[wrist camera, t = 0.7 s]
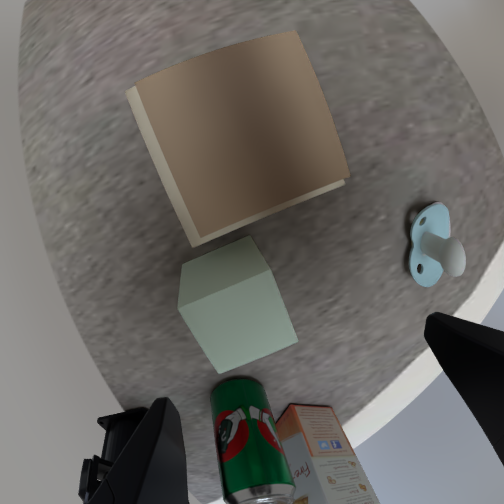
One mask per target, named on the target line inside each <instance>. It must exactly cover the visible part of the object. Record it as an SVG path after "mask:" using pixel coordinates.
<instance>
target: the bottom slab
mask: <svg viewBox="0 0 504 504" xmlns="http://www.w3.org/2000/svg"><path fill="white" fill-rule="evenodd" d="M125 93H126V96H127V99H128V101H129V104H130V106H131V109H132V111H133V114H134V116H135V119H136V121H137V124H138V126H139V129H140V131H141V134H142V136H143V139H144V141H145V143H146V146H147V148H148V151H149V153H150V155H151V158H152V160H153V162H154V165H155V167H156V169H157V172H158V174H159V176H160V179H161V181H162V183H163V185H164V188H165V190H166V192H167V194H168V197H169V199H170V201H171V203H172V205H173V208H174V210H175V212H176V214H177V216H178V218H179V221H180V223H181V225H182V227H183V229H184V231H185V233H186V235H187V238H188V240H189V242H190V244H191V246H192V248H194V247H196V246H199V245H201V244H203V243H206V242H208V241H210V240H212V239H215V238H217V237H219V236H222V235H224V234H226V233H229V232H231V231H233V230H236V229H238V228H240V227H243V226H245V225H247V224H250V223H252V222H255V221H257V220H259V219H262V218H264V217H266V216H269V215H271V214H274V213H276V212H279V211H281V210H283V209H286V208H288V207H291V206H293V205H296V204H298V203H300V202H303V201H305V200H308V199H310V198H313V197H315V196H318V195H320V194H323V193H325V192H328V191H330V190H333V189H335V188H338V187H340V186H343V185H345V182H344V179H342V180H340V181H337V182H334V183H332V184H329V185H327V186H324V187H322V188H319V189H317V190H314V191H312V192H309V193H307V194H304V195H302V196H299V197H297V198H294V199H292V200H289V201H287V202H284V203H282V204H279V205H277V206H275V207H272V208H270V209H267V210H265V211H263V212H260V213H258V214H255V215H253V216H251V217H248V218H246V219H244V220H241V221H239V222H236V223H234V224H232V225H229V226H227V227H225V228H222V229H220V230H218V231H216V232H213V233H211V234H209V235H206V236H204V237H202V238H200V236H199V234H198V231H197V229H196V227H195V225H194V223H193V221H192V218H191V216H190V214H189V212H188V210H187V207H186V205H185V203H184V201H183V198H182V196H181V194H180V192H179V189H178V187H177V185H176V183H175V180H174V178H173V176H172V173H171V171H170V169H169V167H168V164H167V162H166V160H165V157H164V155H163V153H162V150H161V148H160V145H159V143H158V141H157V138H156V136H155V133H154V131H153V129H152V126H151V124H150V121H149V119H148V116H147V114H146V111H145V109H144V106H143V104H142V101H141V99H140V96H139V94H138V91H137V89H136V86H135V87H133V88H130V89H128V90H127V91H125Z"/></svg>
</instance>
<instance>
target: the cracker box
mask: <svg viewBox="0 0 504 504" xmlns="http://www.w3.org/2000/svg"><path fill="white" fill-rule="evenodd" d="M276 428H277V431H278V434H279V437H280V440H281V443H282V446H283V449H284V452H285V455H286V458H287V461H288V464H289V467H290V470H291V473H292V476H293V479H294V482H295V485H296V491H295V493H294V496H293V497H294V499H295V502H294V503H293V504H380V502H379V500H378V498H377V496H376V494H375V492H374V490H373V488H372V486H371V484H370V482H369V480H368V478H367V476H366V474H365V472H364V470H363V468H362V467H361V464H360V462H359V460H358V458H357V456H356V455H355V453H354V451H353V449H352V447H351V444H350V442H349V441H348V439H347V437H346V435H345V433H344V431H343V429H342V427H341V425H340V423H339V421H338V419H337V417H336V415H335V413H334V411H333V409H332V407H318V406H303V405H292V404H291V405H289V407H288V409H287V410H286V411H285V413H284V414H283V415H282V417H281V418H280V419H279V421H278V422H277V423H276Z"/></svg>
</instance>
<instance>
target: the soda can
mask: <svg viewBox="0 0 504 504" xmlns="http://www.w3.org/2000/svg"><path fill="white" fill-rule="evenodd" d="M210 402H211V412H212V421H213V429H214V437H215V445H216V453H217V460H218V467H219V474H220V481H221V487H222V494H223V500H224V502H225V503H226V504H293V503H294V502H295V499H294V497H293V496H294V493H295V491H296V485H295V482H294V479H293V476H292V473H291V470H290V467H289V464H288V461H287V458H286V455H285V452H284V449H283V446H282V443H281V440H280V437H279V434H278V431H277V428H276V424H275V421H274V418H273V415H272V412H271V409H270V405H269V402H268V399H267V396H266V393H265V390H264V388H263V387H262V386H261V385H260V384H258V383H257V382H254V381H252V380H248V379H232V380H229V381H226V382H224V383H222V384H221V385H219V386H218V387H217V388H216V389H215V390H214V391H213V392H212V394H211V397H210Z"/></svg>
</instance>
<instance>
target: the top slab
mask: <svg viewBox="0 0 504 504" xmlns="http://www.w3.org/2000/svg"><path fill="white" fill-rule="evenodd" d="M135 86H136V89H137V91H138V94H139V96H140V99H141V101H142V104H143V106H144V109H145V111H146V114H147V116H148V119H149V121H150V124H151V126H152V129H153V131H154V133H155V136H156V138H157V141H158V143H159V145H160V148H161V150H162V153H163V155H164V157H165V160H166V162H167V164H168V167H169V169H170V171H171V173H172V176H173V178H174V180H175V183H176V185H177V187H178V189H179V192H180V194H181V196H182V198H183V201H184V203H185V205H186V207H187V210H188V212H189V214H190V216H191V218H192V221H193V223H194V225H195V227H196V229H197V231H198V234H199V236H200V238H202V237H204V236H206V235H209V234H211V233H213V232H216V231H218V230H220V229H222V228H225V227H227V226H229V225H232V224H234V223H236V222H239V221H241V220H244V219H246V218H248V217H251V216H253V215H255V214H258V213H260V212H263V211H265V210H267V209H270V208H272V207H275V206H277V205H279V204H282V203H284V202H287V201H289V200H292V199H294V198H297V197H299V196H302V195H304V194H307V193H309V192H312V191H314V190H317V189H319V188H322V187H324V186H327V185H329V184H332V183H334V182H337V181H340V180H342V179H345V178H347V177H350V176H351V175H350V172H349V168H348V165H347V162H346V158H345V155H344V152H343V149H342V145H341V142H340V139H339V136H338V133H337V130H336V127H335V124H334V122H333V119H332V116H331V113H330V110H329V108H328V105H327V102H326V100H325V97H324V94H323V92H322V89H321V87H320V84H319V82H318V79H317V77H316V74H315V72H314V70H313V67H312V65H311V62H310V60H309V58H308V56H307V53H306V51H305V49H304V47H303V45H302V42H301V40H300V38H299V36H298V34H297V32H296V30H295V31H290V32H285V33H279V34H275V35H270V36H266V37H261V38H257V39H253V40H249V41H245V42H242V43H238V44H234V45H231V46H228V47H224V48H221V49H218V50H215V51H212V52H209V53H206V54H203V55H200V56H197V57H194V58H192V59H189V60H186V61H184V62H181V63H178V64H176V65H173V66H171V67H169V68H166V69H164V70H161V71H159V72H157V73H155V74H152V75H150V76H148V77H146V78H144V79H141V80H139V81H137V82H135Z"/></svg>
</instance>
